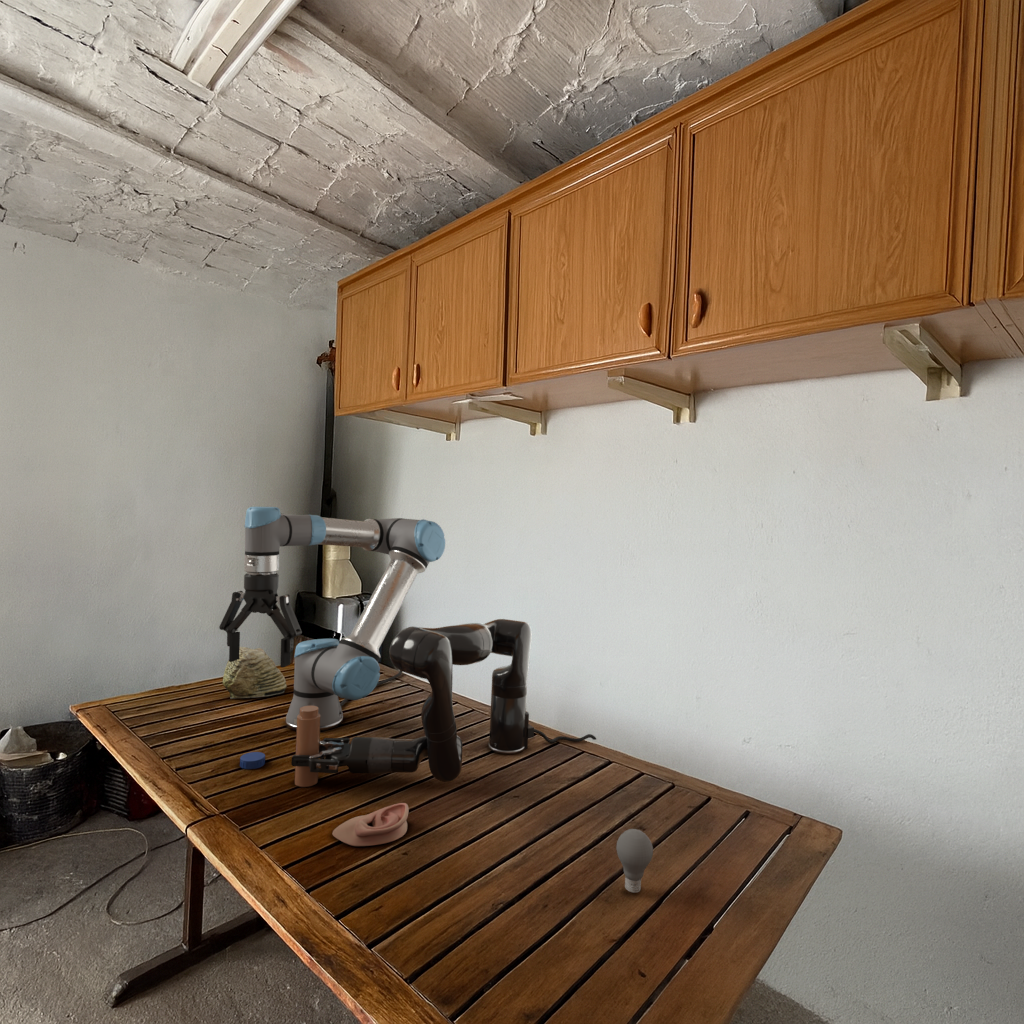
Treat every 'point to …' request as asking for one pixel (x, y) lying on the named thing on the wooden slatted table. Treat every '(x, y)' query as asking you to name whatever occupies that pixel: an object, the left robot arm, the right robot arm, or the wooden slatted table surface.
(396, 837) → the anatomical model
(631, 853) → the light bulb
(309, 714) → the brown tall cylinder
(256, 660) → the fossil
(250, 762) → the lid
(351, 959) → the wooden slatted table surface
